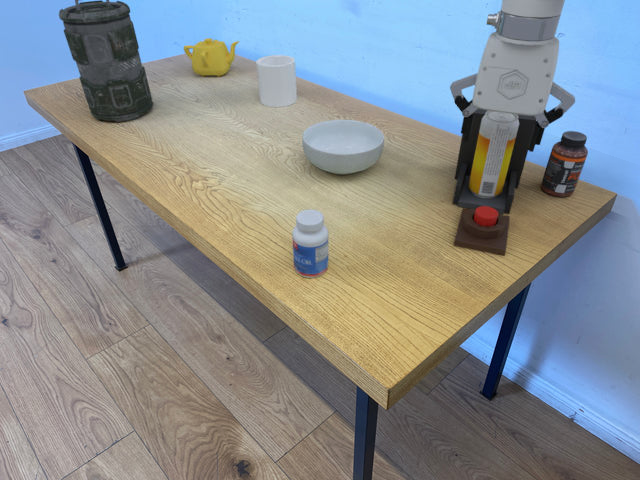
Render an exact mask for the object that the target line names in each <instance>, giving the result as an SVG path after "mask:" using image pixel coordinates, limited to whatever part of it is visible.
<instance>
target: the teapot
mask: <svg viewBox="0 0 640 480" xmlns="http://www.w3.org/2000/svg"><path fill="white" fill-rule="evenodd" d="M239 43H240V40H238V41H233V42H232V43H231V44H230V48H229V49H230V50H229V49H228V47H227V44H226V42H225V41H221V40H218V39H213V38H212V37H211V38H210V37H209V38H204V40H202V41H201V40H200V41H198V42H197V43H195V44H194V45H189V44H188V45H187V44H185V45H184V46H183V51H184V53H185V55H186V56H187V57H188V59H190V60H191V68H192V71H193V72H194V73H195V75H197V76H198V75H200V77H207V76H215V77H222V76H223V75H225V74H227V73H228V72H229V71H230V69H231V66H232V63H233V62H234V60H235V57H236V46H237V44H239ZM190 49H191V50H192V52H191V51H190Z"/></svg>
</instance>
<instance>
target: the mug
mask: <svg viewBox="0 0 640 480" xmlns="http://www.w3.org/2000/svg"><path fill="white" fill-rule="evenodd" d="M256 72H257V73H256V74H257V81H258V93H259V94H258V95H259V101H260V104H261V105H262V106H265V107H269V108H284V107H289V106H292V105H294V104H295V103H296V102H297V101H298V94H297V93H298V92H297V91H298V90H297V75H296V73H297V72H296V60H295V58H294V57H293V56H289V55H284V54H273V55H272V54H271V55H266V56H262V57H260V58H258V59H257V60H256Z"/></svg>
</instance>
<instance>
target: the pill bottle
mask: <svg viewBox="0 0 640 480" xmlns="http://www.w3.org/2000/svg"><path fill="white" fill-rule="evenodd" d="M291 239H292V240H291V242H292V255H293V256H292V257H293V268H294V271H295V273H296V274H298V275H299V276H300V277H303V278H307V279H314V278H319V277H321V276H323V275H324V274H325V273H326V272H327V271H328V269H329V249H330V248H329V247H330V246H329V245H330V244H329V240H330V239H329V230H328V227H327V226H326V225H325V216H324V214H323V213H322V212H321V211H319V210H317V209H309V208H308V209H304V210H301V211H299V212H298V213H297V214H296V217H295V226H294V227H293V228H292V232H291Z"/></svg>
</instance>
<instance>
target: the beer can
mask: <svg viewBox="0 0 640 480" xmlns="http://www.w3.org/2000/svg"><path fill="white" fill-rule="evenodd" d="M518 127H519V120H518V115H517V114H510V113H502V112H495V111H487V112H486V113H485V115H484V117H483V118H482V121H481V126H480V131H479V136H478V141H477V146H476V151H475V156H474V161H473V166H472V171H471V176H470V181H469V189H470V190H471V192H472V193H473V194H474V195H476V196H478V197H481V198H494V197H496V196H498V195H499V194H500V193H501V192H502V190H503V186H504V182H505V178H506V175H507V171H508V167H509V163H510V159H511V155H512V151H513V147H514V143H515V139H516V135H517V131H518Z"/></svg>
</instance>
